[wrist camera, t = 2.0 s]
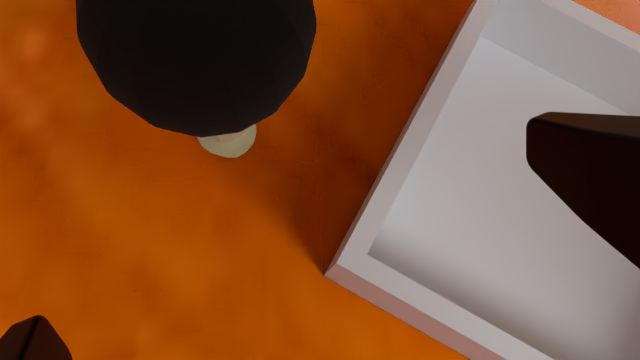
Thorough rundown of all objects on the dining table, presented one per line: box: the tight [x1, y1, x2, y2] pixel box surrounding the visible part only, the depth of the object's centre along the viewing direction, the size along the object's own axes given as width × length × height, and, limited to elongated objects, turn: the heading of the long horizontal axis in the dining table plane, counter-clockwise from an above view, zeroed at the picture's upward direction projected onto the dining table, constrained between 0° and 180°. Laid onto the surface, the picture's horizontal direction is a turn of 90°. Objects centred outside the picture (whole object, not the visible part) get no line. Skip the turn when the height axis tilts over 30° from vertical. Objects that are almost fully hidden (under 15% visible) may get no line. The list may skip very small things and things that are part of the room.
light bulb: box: [76, 0, 317, 158], centre depth 17 cm, size 7×7×12 cm
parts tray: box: [324, 0, 640, 360], centre depth 21 cm, size 15×15×4 cm
